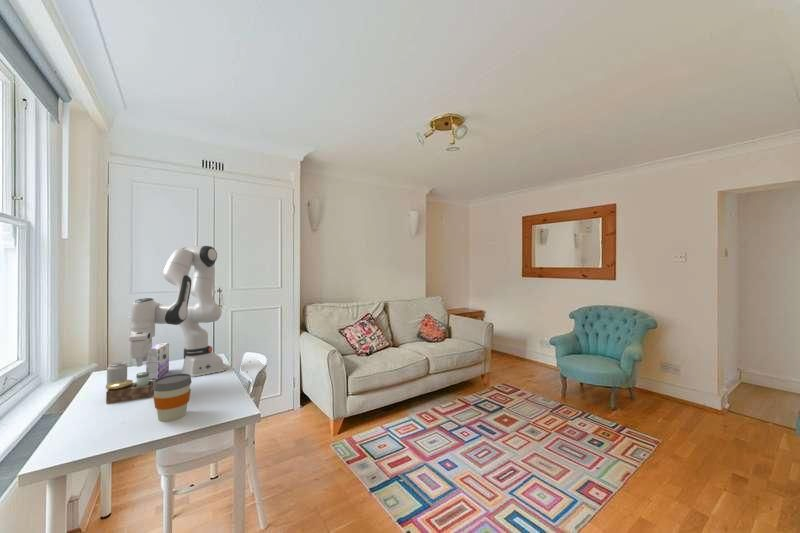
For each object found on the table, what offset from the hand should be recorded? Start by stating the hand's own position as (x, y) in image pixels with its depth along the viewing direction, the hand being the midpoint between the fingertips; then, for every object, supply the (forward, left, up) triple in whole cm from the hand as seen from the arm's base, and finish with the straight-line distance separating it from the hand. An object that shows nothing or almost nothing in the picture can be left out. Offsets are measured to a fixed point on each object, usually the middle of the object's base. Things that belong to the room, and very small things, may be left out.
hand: (142, 363), depth 146 cm
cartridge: (0, 0, -15) cm, 15 cm away
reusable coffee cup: (-16, +32, -15) cm, 38 cm away
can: (+13, -17, -15) cm, 26 cm away
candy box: (-1, -30, -15) cm, 34 cm away
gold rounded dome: (+8, 0, -14) cm, 16 cm away
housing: (+4, 0, -15) cm, 15 cm away
